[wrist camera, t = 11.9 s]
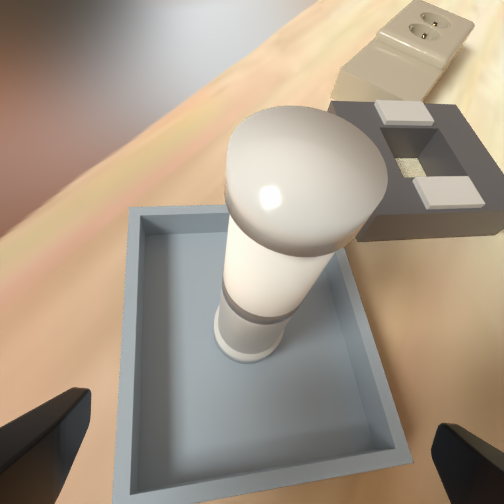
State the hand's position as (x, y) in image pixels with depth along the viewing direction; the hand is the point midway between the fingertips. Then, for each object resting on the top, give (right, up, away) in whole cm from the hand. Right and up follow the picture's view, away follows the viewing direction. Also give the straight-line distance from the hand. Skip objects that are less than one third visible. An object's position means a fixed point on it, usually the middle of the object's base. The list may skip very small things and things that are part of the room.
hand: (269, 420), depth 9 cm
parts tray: (-1, 0, +10) cm, 10 cm away
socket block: (+11, +10, +18) cm, 24 cm away
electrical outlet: (+15, +22, +27) cm, 38 cm away
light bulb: (-1, 0, +10) cm, 10 cm away
